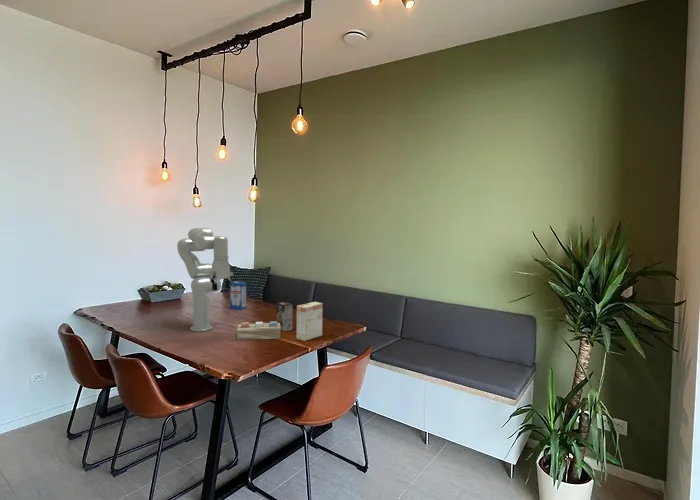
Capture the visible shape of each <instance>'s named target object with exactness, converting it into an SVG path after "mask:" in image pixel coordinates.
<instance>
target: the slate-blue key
mask: <svg viewBox="0 0 700 500" xmlns="http://www.w3.org/2000/svg"><path fill="white" fill-rule="evenodd" d="M269 323H270V327H277V320H275V321H273V320H271V321H269Z"/></svg>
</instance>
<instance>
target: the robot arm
mask: <svg viewBox="0 0 700 500" xmlns="http://www.w3.org/2000/svg"><path fill="white" fill-rule="evenodd" d="M228 242H229V240H228V237H227V236H221V235H214V232H213V230H212V229H211V228H206V227H205V228H203V227H201V228H200V227H196V228H192V229H190V230H189V231H188V233H187V238H182V239H180V240H179V241H177V246H176V247H177V253H178V255H179V257H180V258H181V260H182V261H183V262H184V265H185V268H186V270H187V273H188V275H189V277H190V279H192V280H191V282H190V287H191V293H192V316H193V317H192V326H190V329H189V330H190V331H193V332H207V331H210V330H212V329H213V326H212V324H210V320H211V319H210V314H211V313H210V309H211V308H210V307H211V305H210V304H211V303H210V302H211V301H210V298H209V296H207V294H208V293H217V292H219V291H220V290H221V288H222V282H221V280H225V281H224V283H225V289H230V283H231V282H232V279H233V275H234V272H233V271H231V266H230V262H229V248H228V247H229V246H228V244H229V243H228ZM206 250H213V261H212V263H208V262H207V263H201V261H200V259H199V257H197V256H198V255H197V256H196V254H195V253H193V252H204V251H206Z"/></svg>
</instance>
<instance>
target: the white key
mask: <svg viewBox="0 0 700 500" xmlns="http://www.w3.org/2000/svg"><path fill="white" fill-rule="evenodd" d="M263 323H264V322H263V321H255V324H256V327H263Z"/></svg>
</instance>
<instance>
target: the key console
mask: <svg viewBox="0 0 700 500" xmlns="http://www.w3.org/2000/svg"><path fill="white" fill-rule="evenodd" d="M236 330H237V331H236V332H237V333H236V341H243V340H244V341H246V340H253V341H254V340H271V339H275V340H276V339H281V331H282V330H281V328H280V323H277V327H270V322H268V323H267V322H263V327H256V323H249V328H241V323H239V324H238V326H237V328H236Z"/></svg>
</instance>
